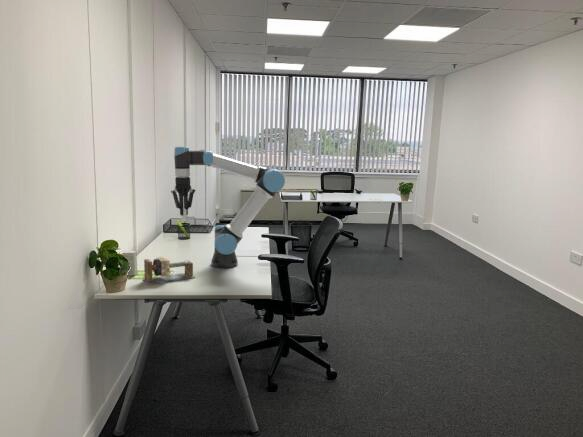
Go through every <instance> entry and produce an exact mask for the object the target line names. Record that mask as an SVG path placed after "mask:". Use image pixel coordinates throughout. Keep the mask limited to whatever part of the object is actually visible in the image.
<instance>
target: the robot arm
mask: <svg viewBox="0 0 583 437" xmlns="http://www.w3.org/2000/svg"><path fill="white" fill-rule="evenodd" d="M173 156H174V157H173V158H174V173H175V175H174V176H175V179H174V180H175V186H174V189H172V190H171V191H170V193H171V194H172V197H173V199H174V204H175V207H176V209H179V215H180V216H181V222H183V223H185V222H187V218H188V217H187V216H188V214H189V209H190V208H192V204H193V201H194V200H193V198H194V194H195V192H196V189H195V188H192V186H191V177H190V176H191V170H190V169H191V167H190V166H206V167H211V168H213V169H217V170H220V171H222V172H223V171H224V172H227V173H230V174H234V175H236V176H240V177H243V178H245V179H249V180H252V181H253V182H254V183H255V187H256V188H255V190H254V191H253V193H252V194H251V195H250V197H248V199H247V200H246V202H245V203H244V204H243V206H242V207H241V208H240V210H239V211H238V212H237V213H236V215H235V216H234V218H233V219H232V220H231V221H230V223H229V224H228V223H227V224H223V225H215V226H214V251H213V255H212V257H211V260H210V262H211V263H210V264H211V265H210V266H212V267H214V268H220V269H229V268H234V267H237V266H238V262H239V261H238V257H237V255H236V250H237V247H238V244H239V243H240V242H241V240H242V239H243V236H244V235H243V233H244V232H245V231H246V229H247V228H248V227H249V225H250V224H251V223H252V221H253V220H254V219H255V217H256V216H257V215H258V213H259V212H260V211H261V210H262V208H263V207H264V205H265V204H266V203H267V202H268V200H269V199H272V198H273V199H274V197H275V196H276V195H277V194H278V192H280V191H281V190H282V189H283V188H284V186H285V183H286V178H285V176H284V174H283V172H282V171H280V170H279V169H276V168H274V167H273V168H272V167H267V166H263V165H262V166H261V165H258V166H255V165H253V164H249V163H246V162H243V161H239V160H235V159H233V158H229V157H226V156H223V155H219V154H216V153H214V152H213V151H212V150H204V149H200V150H191V149H190V147H189V146H176V147H174V155H173ZM177 193H178V194H177Z"/></svg>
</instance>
